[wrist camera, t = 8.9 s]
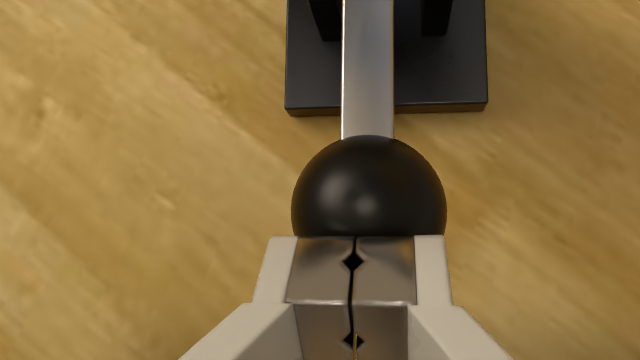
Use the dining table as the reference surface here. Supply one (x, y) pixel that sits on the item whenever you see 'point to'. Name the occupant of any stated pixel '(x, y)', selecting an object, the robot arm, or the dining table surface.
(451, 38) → the black lever stand
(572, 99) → the dining table surface
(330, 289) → the robot arm
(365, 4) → the lever with ball knob
